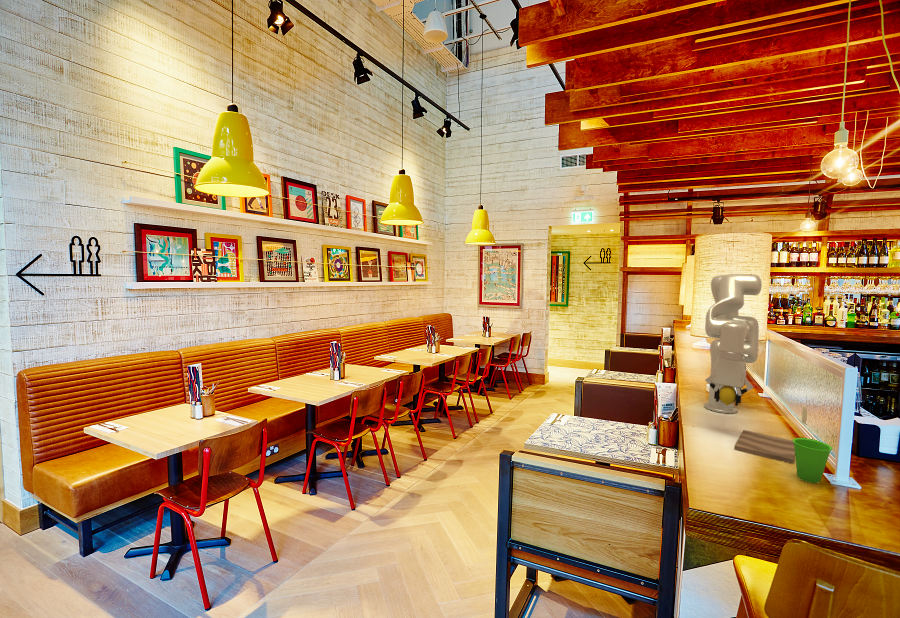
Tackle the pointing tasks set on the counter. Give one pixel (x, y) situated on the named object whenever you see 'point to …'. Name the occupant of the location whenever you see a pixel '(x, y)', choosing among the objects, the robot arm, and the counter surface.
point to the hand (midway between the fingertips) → (727, 402)
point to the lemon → (727, 395)
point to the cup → (810, 458)
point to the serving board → (766, 446)
